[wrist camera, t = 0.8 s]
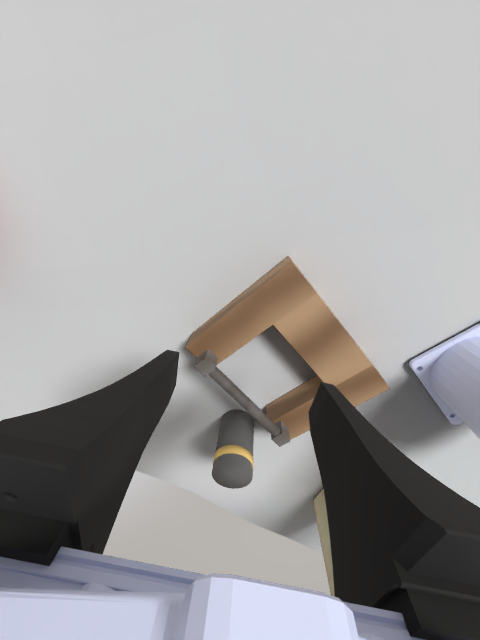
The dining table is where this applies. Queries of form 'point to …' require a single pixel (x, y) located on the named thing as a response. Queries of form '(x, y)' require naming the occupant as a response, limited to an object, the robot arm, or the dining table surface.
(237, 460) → the grey cylinder with band
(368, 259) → the dining table surface
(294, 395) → the wooden bracket with rod
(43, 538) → the robot arm
